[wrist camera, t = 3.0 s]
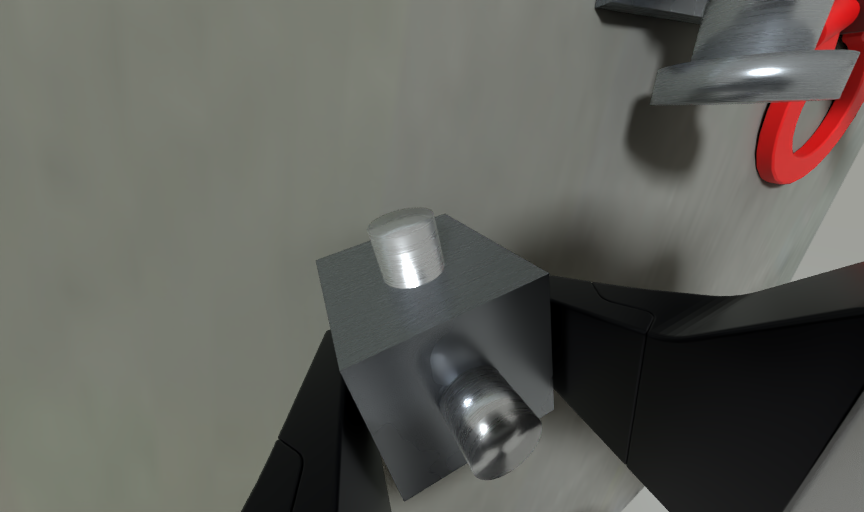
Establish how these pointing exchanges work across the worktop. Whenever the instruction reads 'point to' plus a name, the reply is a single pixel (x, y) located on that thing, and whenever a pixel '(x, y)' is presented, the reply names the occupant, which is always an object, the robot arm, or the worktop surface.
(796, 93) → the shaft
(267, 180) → the worktop surface
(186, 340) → the worktop surface
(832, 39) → the tow hook
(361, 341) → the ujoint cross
